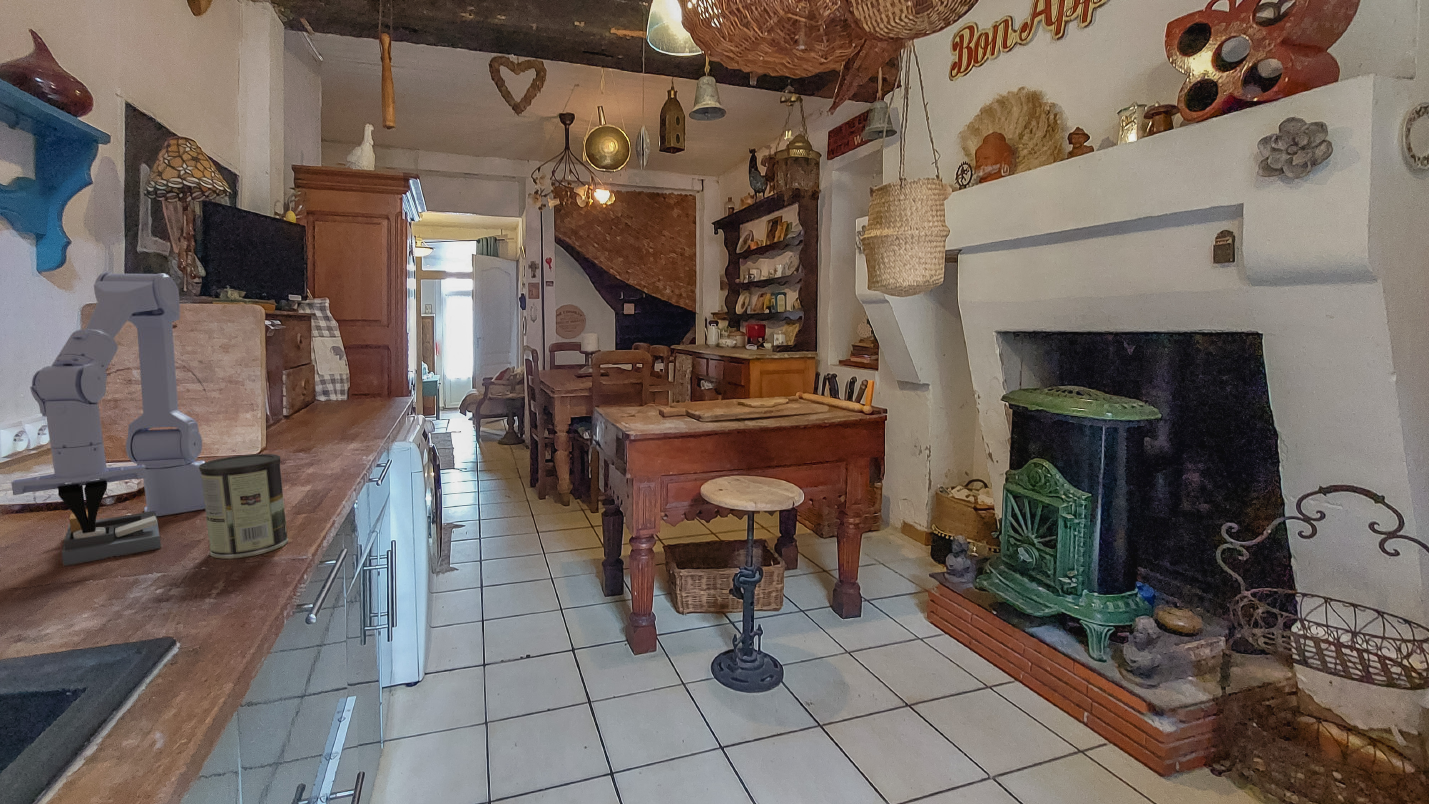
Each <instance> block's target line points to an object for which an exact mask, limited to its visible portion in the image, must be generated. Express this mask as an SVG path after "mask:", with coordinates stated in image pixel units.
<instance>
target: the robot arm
mask: <svg viewBox="0 0 1429 804" xmlns="http://www.w3.org/2000/svg"><path fill="white" fill-rule="evenodd" d="M93 290H94V295H95V299H96V301H97V302H96V305H95V306H94V309H93V311H92V314H91V316H90V317H89V321H88V322H87V324H86V327H85V328H84V329H78V330H75V331H73V332H72V333H71V335H70V336H69V337H68V339H67V341H66V342H65V344H64V346H62V348H61V350H60V352H59V353H58V355H57V357H55V359H54V360H53V362H52V364H51V365H48V366H44V367H43V368H41V369H39V370H37V371H36V372H35V374H34V375H33V376H32V379H31V386H30V393H31V395H32V397H33V399H34V400H35V401H36V402H37V405H38V406H39V413H40V414H41V415H42V417H45V418H46V423H47V424H46V425H47V430H48V439H49V444H50V451H51V458H52V463H53V464H52V465H53V472H54V473H53V474H52V473H51V474H46V475H45V474H44V475H39V476H31V477H27V478H26V477H25V478H20V479H19V478H18V479H13V480H12V481H11V484H10V485H11V491H12V495H13V496H18V495H19V496H20V495H24V494H26V493H34V492H41V491H42V492H43V491H49V490H57V491H58V492H57V495H58V496H59V498H60V499H61V500H62V501H63V502H64V503H65V505H66V506H67V507H68V508H69V509H70V510H71V512H72V513H73V514H74V515H75V517H76V518H77V520H78V522H79V524H80V526H81V529H82V532H83V533H89V532H95V530H96V520H97V515H98V512H99V509H100V505H101V503H102V500H103V497H104V496H105V494H106V491H107V489H108V483H113V482H114V483H115V482H120V481H127V480H128V481H129V480H142V479H143V480H142V481H143V485H144V486H143V488H144V494H145V502H146V503H145V504H146V506H145V507H143V510H144V513H145V512H151V511H156V517H157V518H158V517H162V516H171V515H175V514H181V513H182V514H183V513H188V512H193V511H200V510H205V502H204V494H203V486H202V478H201V471H200V469H199V465H201V464H203V463H205V462H206V461H205V460H197V459H198V457H199V456H200V455H201V453H202V450H203V440H202V435H201V433H200V430H199V425H198V421H197V420H195V419H194V418H192V417H191V416H189V415H187V414H186V413H183V412H182V411H180V410H179V404H178V389H177V386H178V385H177V374H176V359H175V346H174V345H175V344H174V342H175V341H174V330H173V329H174V327H173V323H174V322H176V321H179V320H180V319H181V316H180V314H181V306H180V304H181V303H180V294H179V293H180V291H179V287H178V285H177V284H176V283H175V280H174V279H173V278H172V277H171V276H170V275H169V274H167V273H165V272H164V273H163V272H162V273H161V272H159V273H111V272H102V273H100V274H99V275H98V277H97V278H96V280H95V282H94V284H93ZM127 322H130V323H132V325H133V326H134V327H135V328H136V331H137V332H136V333H137V344H138V358H139V359H138V360H139V373H140V375H139V376H140V386H141V398H142V399H141V400H142V414H141V415H139V416H138V417H137V418H135V419H134V420H133V421H132V422H130V423H129V424H128V427H127V428H128V430H127V437H126V441H125V452H126V455H127V458H128V459H129V460H130V461H131V462H132V463H134V464H136V465H125V466H124V465H123V466H114V467H113V466H112V467H107V461H106V455H105V446H104V438H103V431H102V424H101V423H102V422H101V414H100V409H99V402H100V401H101V400H102V399H103V398H104V397H105V396H106V393H107V379H108V373H107V369H108V368H109V366H110V364H111V362H112V360H113V359H114V357H115V356H116V353H117V352H118V349H119V347H118V344H117V343H118V342H117V341H116V340H115V338H116V336H117V335H118V334H119V332H120V331H121V330H122V328H123V327H124V325H125V324H126V323H127ZM152 428H153V429H152ZM154 428H164V429H154ZM165 428H166V429H165ZM167 428H168V429H167ZM169 428H170V429H169ZM84 486H85V487H84ZM85 502H86V503H85ZM85 504H86V505H85ZM86 509H87V510H86ZM86 511H88V518H87V514H86Z"/></svg>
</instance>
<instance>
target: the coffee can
mask: <svg viewBox="0 0 1429 804" xmlns="http://www.w3.org/2000/svg"><path fill="white" fill-rule="evenodd" d="M280 462H281V456H280V455H278V454H271V453H255V454H254V453H253V454H245V455H244V454H243V455H234V456H229V457H221V458H218V459H213V460H209V461H205V463H203V464H201V465H199V469H200V471H201V478H202V486H203V494H204V502H205V509H204V510H205V517H206V525H207V526H206V527H207V535H208V542H209V551H210V552H209V555H210V556H211V557H212V558H217V559H224V560H225V559H229V560H230V559H241V558H242V559H243V558H247V557H253V556H254V557H255V556H257V555H258V556H259V555H262V554H266V553H269V552H272V551H276V550H277V549H279V548H280V549H281V548H282V547H284V546H285V545H286V544H287V543H288V542H289V538H288V531H287V522H286V512H285V504H284V493H283V491H284V490H283V483H282V474H281V464H280Z"/></svg>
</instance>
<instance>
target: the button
mask: <svg viewBox="0 0 1429 804" xmlns="http://www.w3.org/2000/svg"><path fill="white" fill-rule="evenodd" d="M103 534H106V530H105V528H104V527H96V530H95V532H89V533H83V532H82V530H79V531H76V532H74V533H73V536H74V539H79V538H85V537H91V536H97V535H103Z"/></svg>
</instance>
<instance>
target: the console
mask: <svg viewBox="0 0 1429 804" xmlns="http://www.w3.org/2000/svg"><path fill="white" fill-rule="evenodd" d="M152 516H155V517H156V511H151V512H145V511H144V512H139V513H132V514H127V515H121V516H112V517H107V518H101V519H96V527H104V528H105V530H106V534H103V535H97V536H91V537H85V538H79V539H74V536H73V533H74V532H71V527H70V523H69V524H68V528H67V531H66V533H65V536H64V540H63V545H62V546H63V547H62V550H61V556H62V557H61V558H62V564H63V566H64V567H65V566H71V565H76V564H81V563H82V564H83V563H87V562H92V561H97V560H98V561H99V560H104V558H105V559H108V558H107V557H110V558H114V557H113V556H116V557H120V555H121V556H125V555H132V554H137V553H141V552H148V551H153V550H159V549H162V547H161V537H160V536H161V535H160V531H159V524H158V522H157V525H154V526H151V527H148V528H145V529H142V530H138V531H135V532H132V533H129V534H126V535H123V536H120V537H117V536H116V534H115V528H118V527H121V526H124V525H127V524H130V523H133V522H136V521H139V520H143V519H146V518H149V517H152ZM156 519H157V520H158V516H157V517H156ZM75 532H76V531H75Z"/></svg>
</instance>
